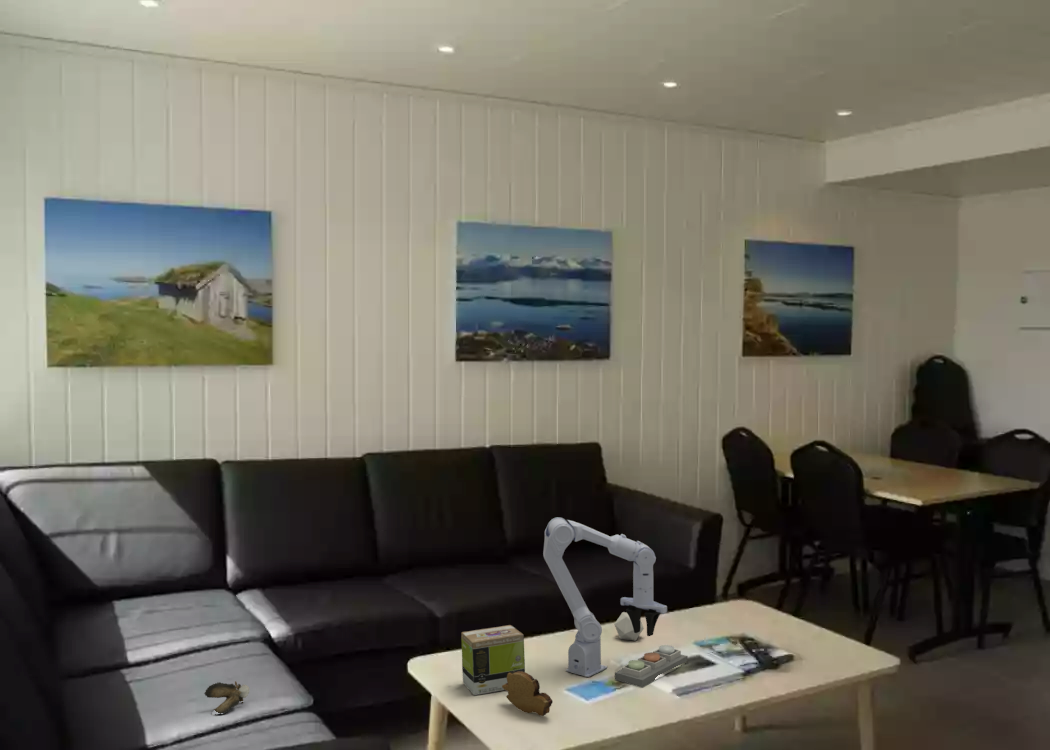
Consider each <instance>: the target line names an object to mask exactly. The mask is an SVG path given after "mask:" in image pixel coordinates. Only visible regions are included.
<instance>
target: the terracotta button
mask: <svg viewBox="0 0 1050 750" xmlns="http://www.w3.org/2000/svg"><path fill="white" fill-rule="evenodd" d="M643 656H644V660H645V661H649V662H653V663H656V662H658V661H659V660H660V655H659V654H658V653H653V651H652V652H650V651H649V652H645V653H644V654H643Z"/></svg>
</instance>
